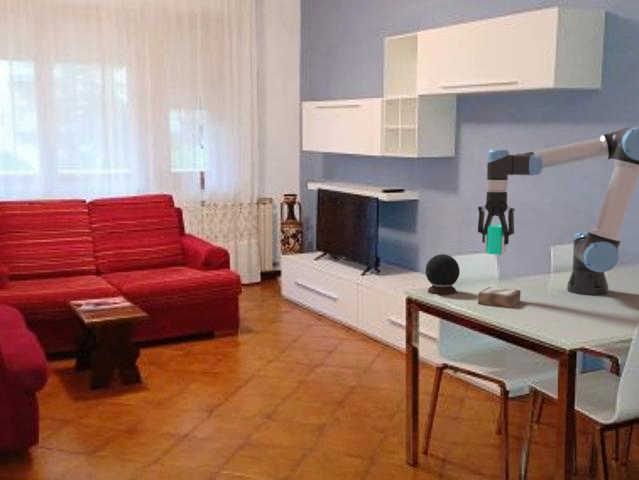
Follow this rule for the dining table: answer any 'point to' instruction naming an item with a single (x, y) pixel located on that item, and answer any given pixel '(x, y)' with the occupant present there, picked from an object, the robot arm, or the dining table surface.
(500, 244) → the candle
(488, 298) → the plinth
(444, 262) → the smart speaker
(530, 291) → the dining table surface
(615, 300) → the dining table surface
